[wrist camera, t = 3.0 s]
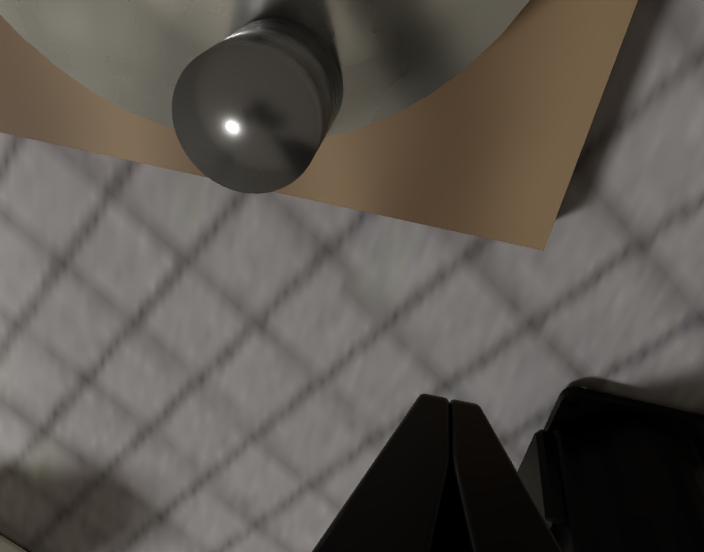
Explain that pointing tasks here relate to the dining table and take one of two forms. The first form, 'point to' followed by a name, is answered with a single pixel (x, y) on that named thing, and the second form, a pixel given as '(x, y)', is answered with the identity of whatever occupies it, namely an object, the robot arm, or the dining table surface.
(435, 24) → the flange plate
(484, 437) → the robot arm
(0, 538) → the medicine bottle
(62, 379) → the dining table surface
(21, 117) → the base board
